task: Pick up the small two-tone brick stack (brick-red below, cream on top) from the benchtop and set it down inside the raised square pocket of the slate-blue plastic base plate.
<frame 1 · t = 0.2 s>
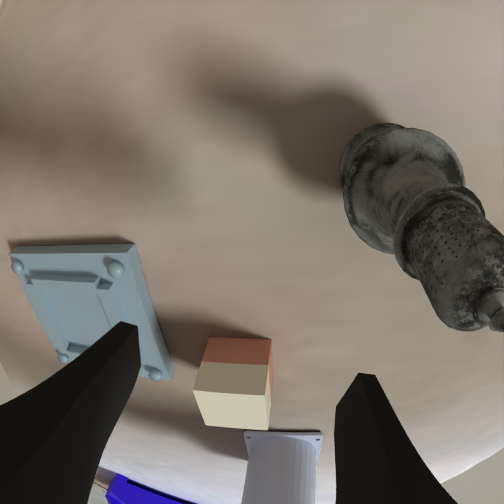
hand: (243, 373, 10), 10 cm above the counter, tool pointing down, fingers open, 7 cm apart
skincare box: (95, 485, 60), on the counter
base plate: (91, 311, 23), on the counter
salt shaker: (386, 171, 16), on the counter
brick stack: (242, 358, 24), on the counter
bracket: (160, 495, 52), on the counter
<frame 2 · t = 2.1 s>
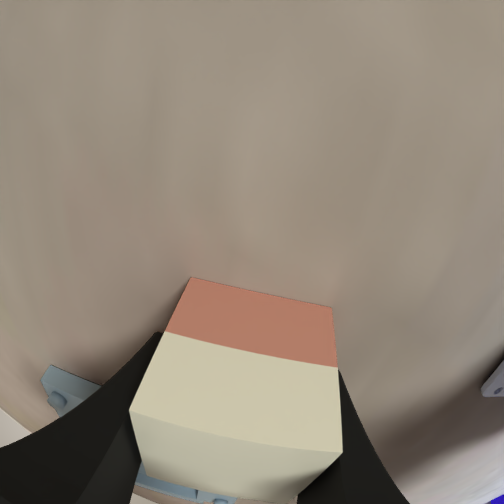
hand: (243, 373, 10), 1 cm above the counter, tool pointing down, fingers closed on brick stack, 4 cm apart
base plate: (155, 448, 17), on the counter
brick stack: (249, 342, 11), on the counter, touching gripper
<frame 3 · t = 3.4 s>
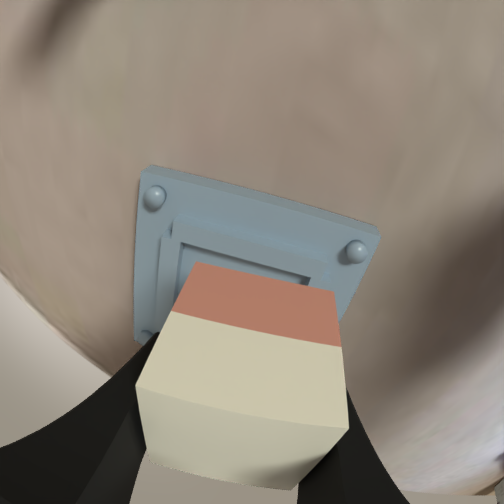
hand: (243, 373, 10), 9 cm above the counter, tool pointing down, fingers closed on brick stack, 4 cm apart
base plate: (238, 288, 19), on the counter
brick stack: (252, 328, 11), point 7 cm above the counter, touching gripper
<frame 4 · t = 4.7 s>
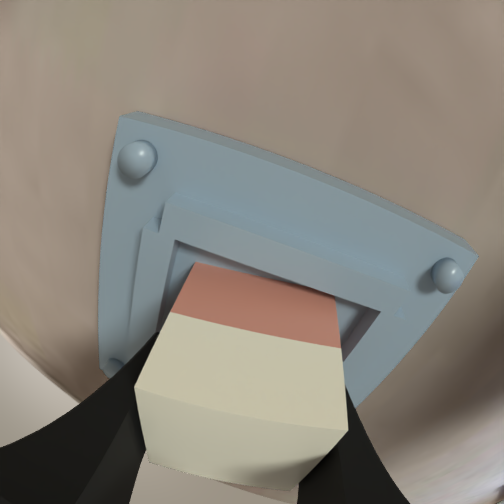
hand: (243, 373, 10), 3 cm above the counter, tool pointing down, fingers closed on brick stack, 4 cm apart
skincare box: (500, 502, 33), on the counter
base plate: (255, 313, 12), on the counter
brick stack: (252, 328, 11), point 1 cm above the counter, touching base plate, gripper
when the fingers open (3 cm above the counter, at t = 5.1 s): brick stack stays where it is, resting on base plate.
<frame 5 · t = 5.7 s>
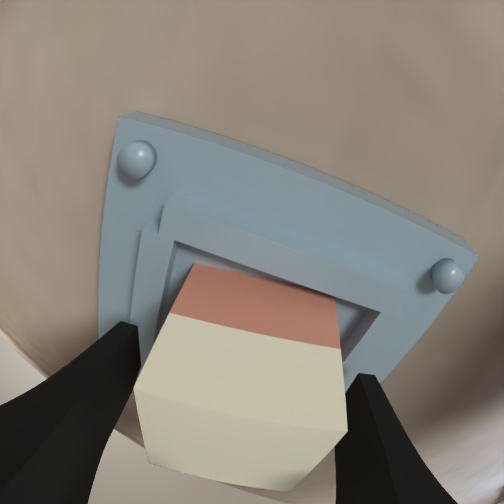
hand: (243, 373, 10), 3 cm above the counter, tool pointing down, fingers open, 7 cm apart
skincare box: (500, 502, 33), on the counter
base plate: (254, 314, 12), on the counter
brick stack: (251, 329, 11), point 1 cm above the counter, touching base plate
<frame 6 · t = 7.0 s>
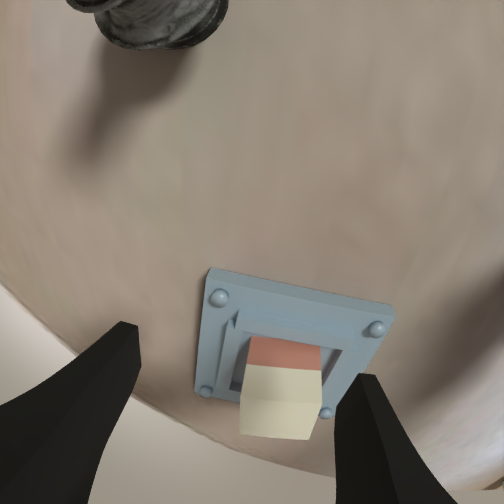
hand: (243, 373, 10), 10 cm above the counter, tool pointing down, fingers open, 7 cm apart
base plate: (283, 352, 23), on the counter
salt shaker: (179, 5, 13), on the counter
brick stack: (282, 361, 22), point 1 cm above the counter, touching base plate
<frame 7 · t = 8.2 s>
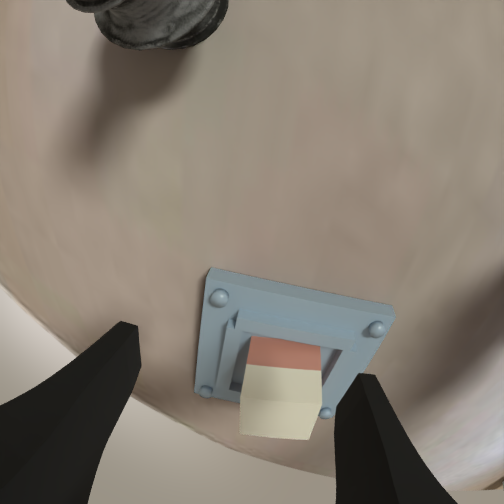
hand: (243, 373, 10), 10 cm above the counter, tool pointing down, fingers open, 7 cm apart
base plate: (283, 352, 23), on the counter
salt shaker: (179, 5, 13), on the counter
brick stack: (282, 361, 22), point 1 cm above the counter, touching base plate
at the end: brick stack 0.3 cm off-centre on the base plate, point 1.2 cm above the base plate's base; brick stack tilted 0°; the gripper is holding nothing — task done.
